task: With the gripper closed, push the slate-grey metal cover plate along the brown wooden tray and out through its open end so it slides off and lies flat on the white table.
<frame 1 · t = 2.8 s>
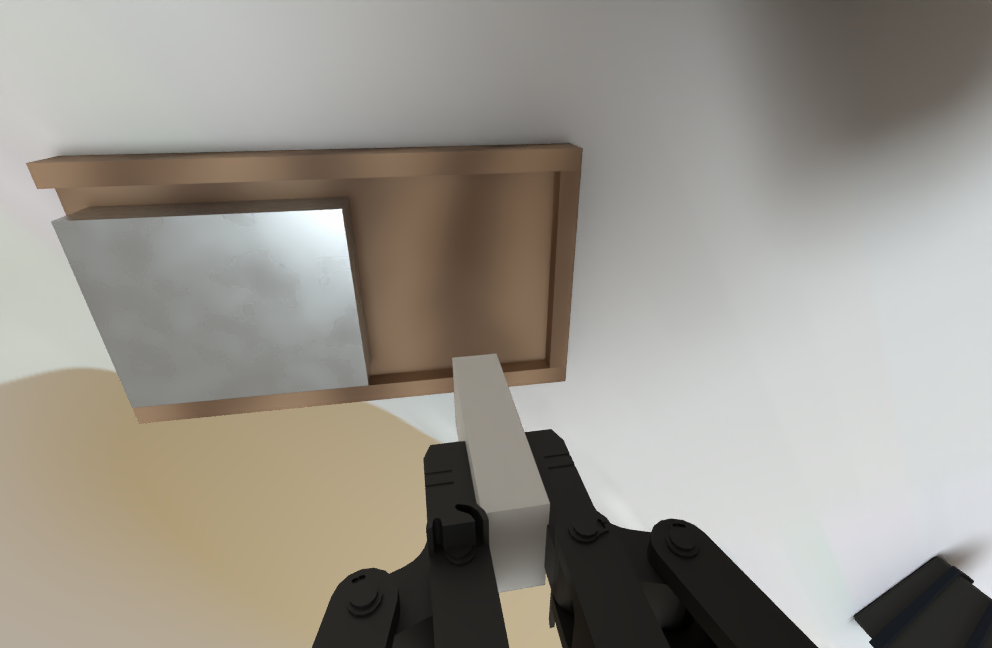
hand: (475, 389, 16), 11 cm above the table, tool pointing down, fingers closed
brown wooden tray: (343, 279, 25), on the table
cover plate: (247, 292, 24), point 1 cm above the table, touching brown wooden tray
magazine: (906, 581, 50), on the table
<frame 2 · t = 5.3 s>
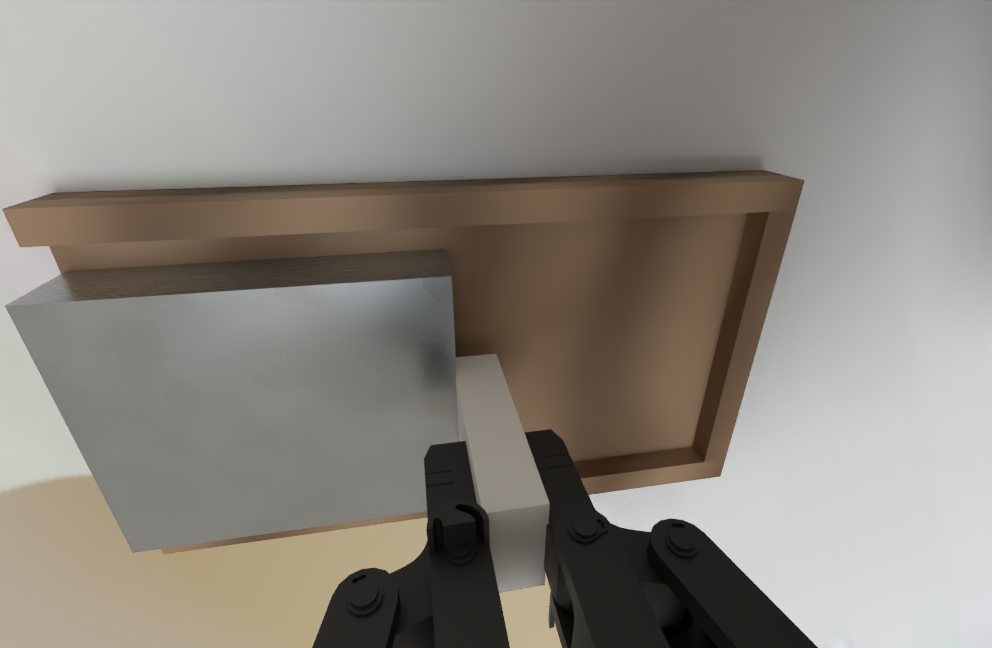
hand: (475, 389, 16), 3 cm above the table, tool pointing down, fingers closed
brown wooden tray: (443, 353, 18), on the table
cover plate: (295, 380, 17), point 1 cm above the table, touching gripper, brown wooden tray
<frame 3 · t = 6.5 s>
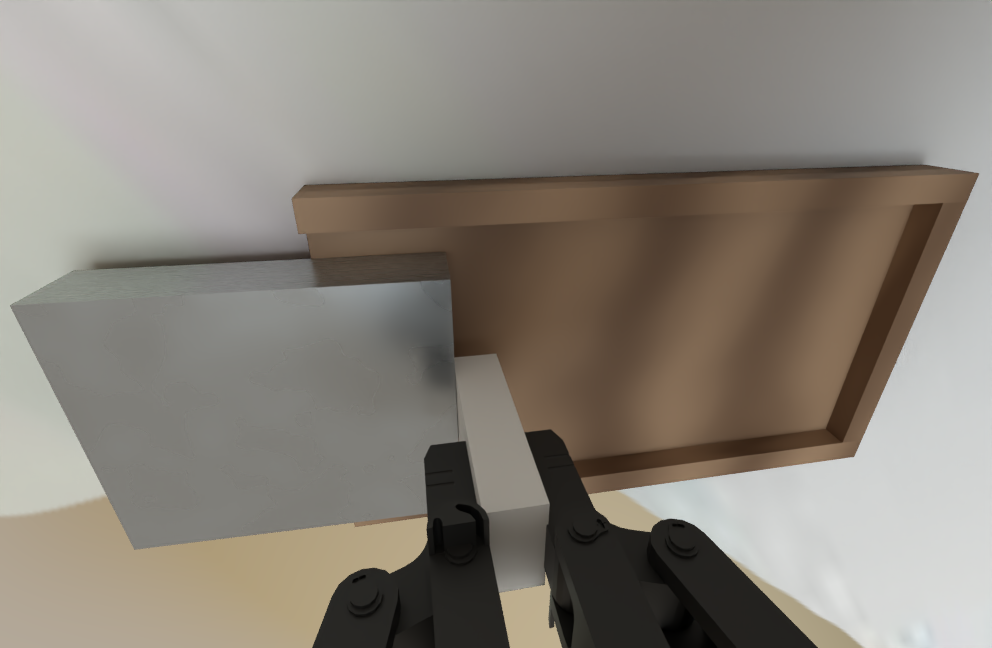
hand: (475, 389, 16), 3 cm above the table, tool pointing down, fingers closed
brown wooden tray: (613, 337, 20), on the table
cover plate: (296, 381, 17), point 1 cm above the table, touching gripper
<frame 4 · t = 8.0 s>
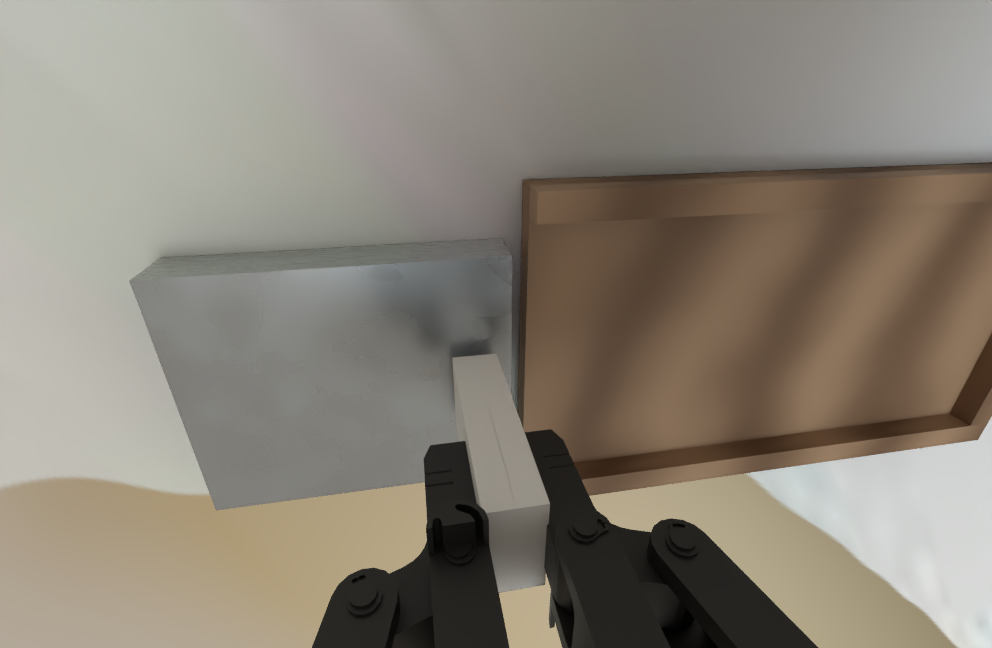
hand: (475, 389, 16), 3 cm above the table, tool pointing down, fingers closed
brown wooden tray: (767, 325, 21), on the table
cover plate: (359, 355, 18), on the table
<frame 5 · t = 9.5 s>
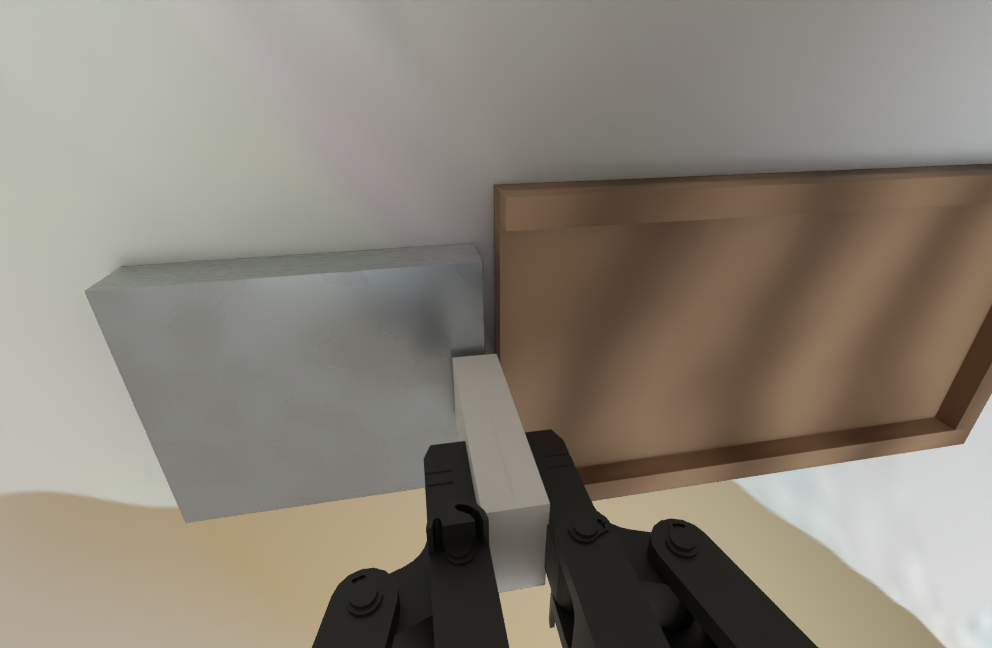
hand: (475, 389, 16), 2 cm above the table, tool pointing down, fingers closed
brown wooden tray: (748, 330, 20), on the table
cover plate: (331, 363, 18), on the table
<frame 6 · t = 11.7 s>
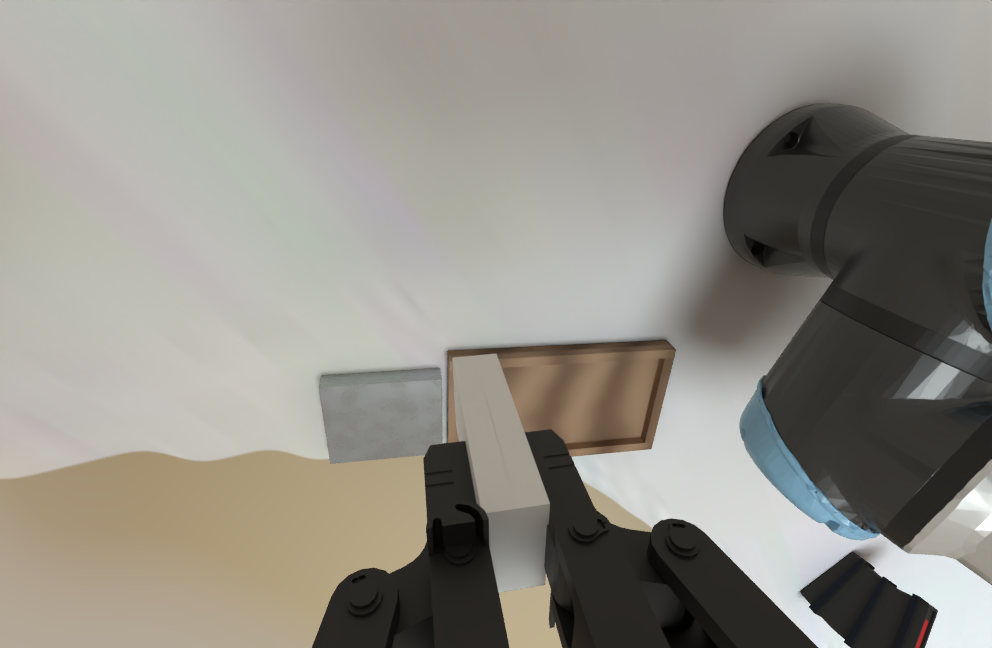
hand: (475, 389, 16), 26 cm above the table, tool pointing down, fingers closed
brown wooden tray: (550, 398, 51), on the table
cover plate: (385, 407, 48), on the table
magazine: (833, 568, 77), on the table
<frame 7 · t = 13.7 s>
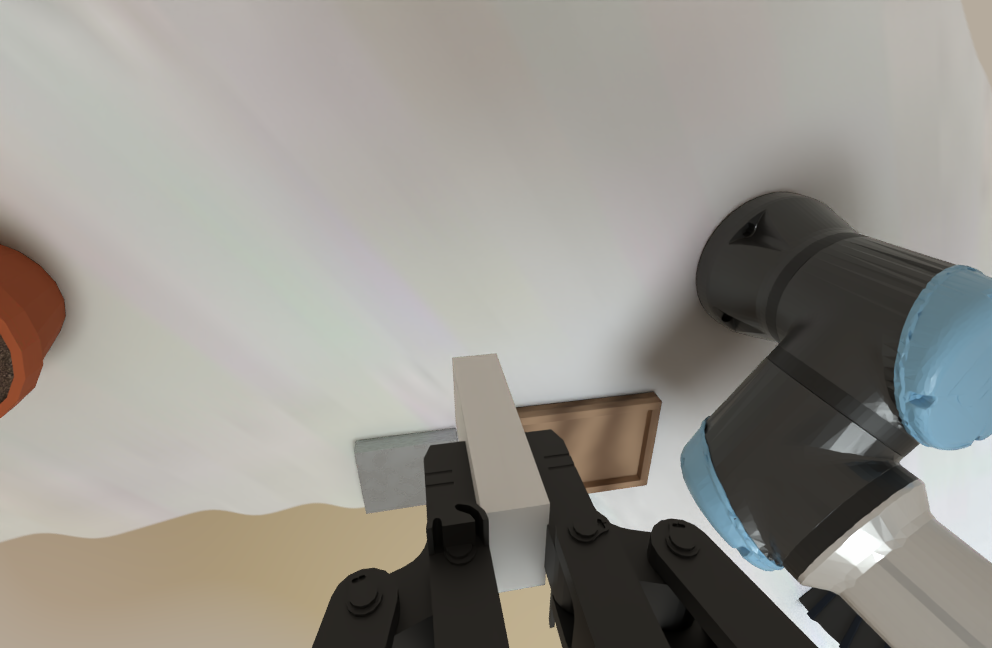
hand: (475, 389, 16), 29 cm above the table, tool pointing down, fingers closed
brown wooden tray: (554, 446, 58), on the table
cover plate: (410, 461, 56), on the table
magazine: (829, 577, 83), on the table
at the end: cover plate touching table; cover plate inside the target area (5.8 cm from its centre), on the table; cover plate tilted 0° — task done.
